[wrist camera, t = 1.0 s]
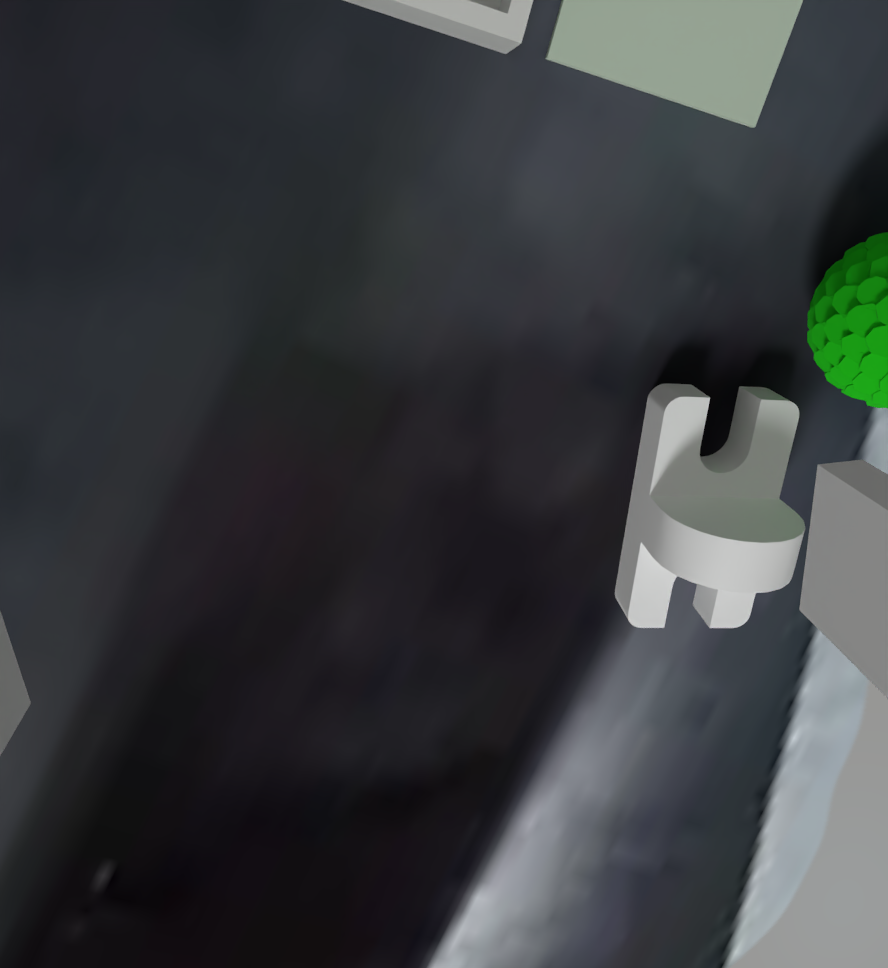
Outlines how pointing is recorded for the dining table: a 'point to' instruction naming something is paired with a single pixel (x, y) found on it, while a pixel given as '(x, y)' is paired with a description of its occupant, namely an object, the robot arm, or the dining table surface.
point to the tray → (463, 18)
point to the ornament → (854, 322)
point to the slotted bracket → (709, 508)
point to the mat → (680, 48)
